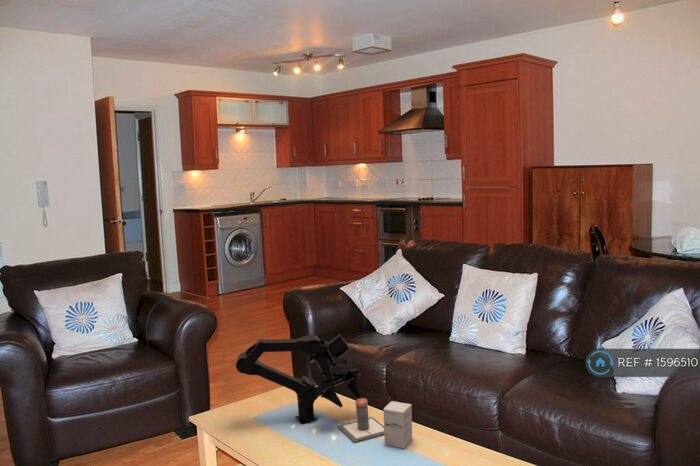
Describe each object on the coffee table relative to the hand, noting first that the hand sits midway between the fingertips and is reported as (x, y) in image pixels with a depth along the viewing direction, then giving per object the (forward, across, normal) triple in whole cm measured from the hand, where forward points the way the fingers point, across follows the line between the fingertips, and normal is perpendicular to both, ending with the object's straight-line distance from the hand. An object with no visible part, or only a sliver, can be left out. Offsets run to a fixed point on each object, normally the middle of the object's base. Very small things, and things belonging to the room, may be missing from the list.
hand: (350, 402), depth 209 cm
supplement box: (+21, +1, -8) cm, 22 cm away
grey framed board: (+10, 0, +3) cm, 10 cm away
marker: (+9, 0, +2) cm, 10 cm away
